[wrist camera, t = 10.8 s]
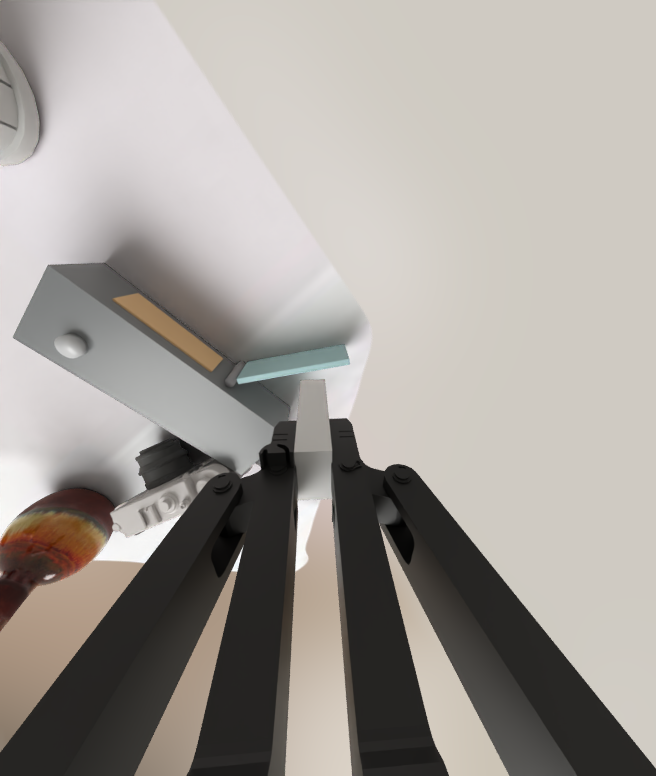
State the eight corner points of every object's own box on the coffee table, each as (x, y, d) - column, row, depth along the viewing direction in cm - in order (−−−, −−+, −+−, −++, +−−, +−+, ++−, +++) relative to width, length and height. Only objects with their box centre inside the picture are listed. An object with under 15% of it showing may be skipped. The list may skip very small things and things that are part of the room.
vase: (75, 468, 37) (-68, 594, 23) (141, 509, 41) (54, 636, 27) (31, 501, 39) (-121, 632, 26) (98, 537, 44) (-1, 665, 30)
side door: (344, 342, 30) (349, 357, 26) (345, 352, 30) (350, 368, 26) (236, 361, 30) (223, 379, 26) (239, 371, 31) (227, 389, 27)
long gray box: (70, 321, 28) (2, 340, 22) (105, 261, 25) (39, 263, 19) (261, 448, 37) (250, 487, 31) (300, 413, 34) (297, 446, 28)
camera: (260, 470, 37) (224, 509, 27) (167, 510, 39) (99, 560, 28) (233, 411, 37) (186, 427, 26) (140, 454, 39) (63, 484, 28)
